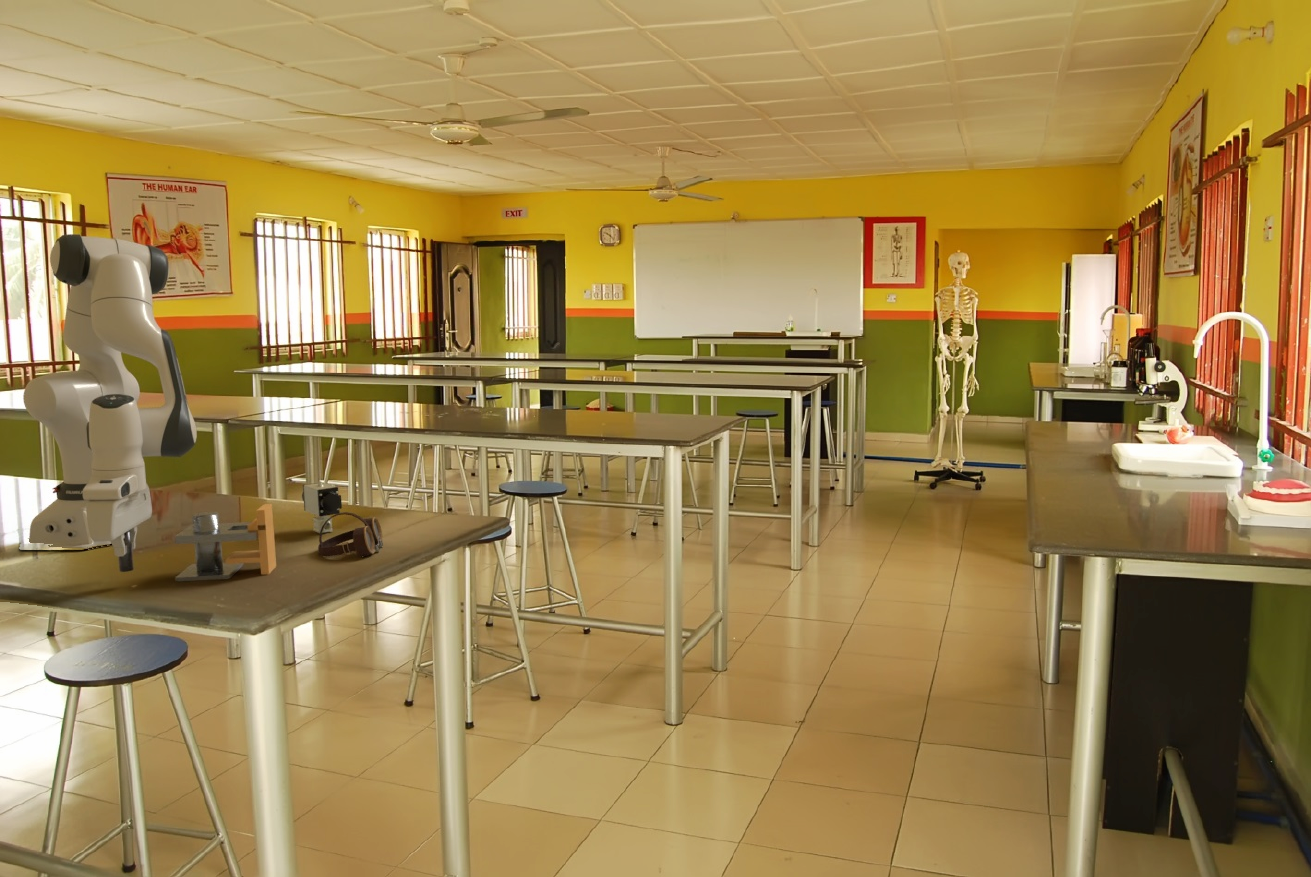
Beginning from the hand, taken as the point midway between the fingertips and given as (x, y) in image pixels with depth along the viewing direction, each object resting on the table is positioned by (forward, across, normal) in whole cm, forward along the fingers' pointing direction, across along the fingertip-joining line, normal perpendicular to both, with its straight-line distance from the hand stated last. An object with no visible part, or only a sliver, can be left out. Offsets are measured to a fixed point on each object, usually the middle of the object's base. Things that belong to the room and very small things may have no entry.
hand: (125, 552), depth 191 cm
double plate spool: (+6, -7, +16) cm, 18 cm away
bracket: (+6, -7, +21) cm, 23 cm away
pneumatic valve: (+7, -40, +28) cm, 50 cm away
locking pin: (+3, 0, 0) cm, 3 cm away
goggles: (+7, -21, +38) cm, 43 cm away
